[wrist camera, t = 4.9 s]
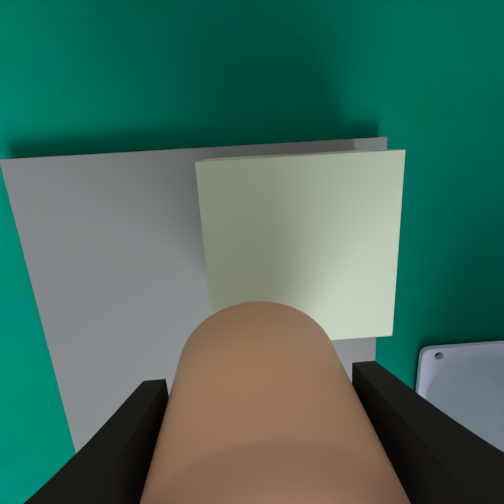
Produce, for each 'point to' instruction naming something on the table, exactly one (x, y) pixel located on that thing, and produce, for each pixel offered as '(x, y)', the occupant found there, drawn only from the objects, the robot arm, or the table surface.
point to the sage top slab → (306, 235)
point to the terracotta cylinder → (266, 419)
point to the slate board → (125, 266)
